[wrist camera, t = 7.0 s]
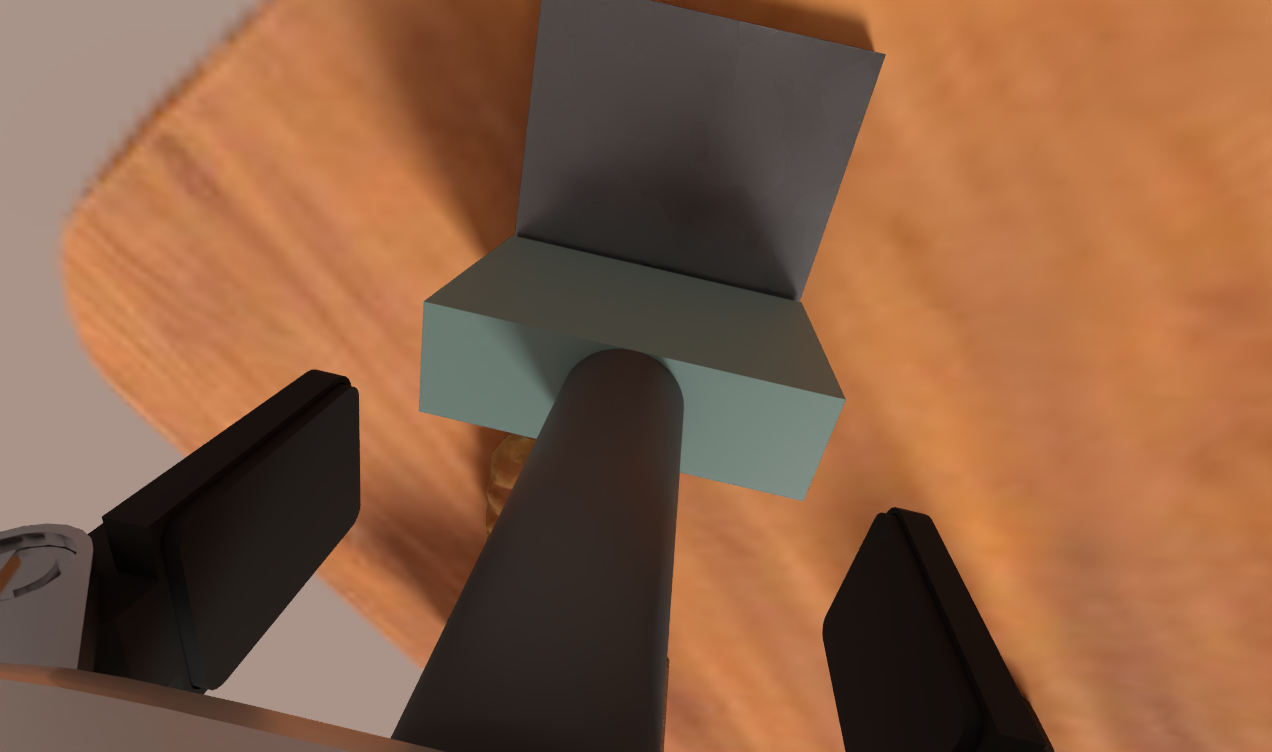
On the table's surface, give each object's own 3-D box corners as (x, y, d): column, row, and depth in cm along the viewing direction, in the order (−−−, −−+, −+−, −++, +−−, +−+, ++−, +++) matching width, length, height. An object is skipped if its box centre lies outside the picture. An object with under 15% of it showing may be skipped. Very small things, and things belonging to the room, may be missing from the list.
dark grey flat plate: (551, -19, 18) (543, -25, 17) (876, 56, 18) (885, 54, 17) (509, 340, 23) (501, 350, 22) (759, 398, 23) (761, 411, 22)
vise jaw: (512, 235, 20) (15, 604, 6) (801, 302, 20) (1050, 849, 6) (503, 316, 21) (83, 784, 7) (774, 380, 21) (917, 983, 7)
